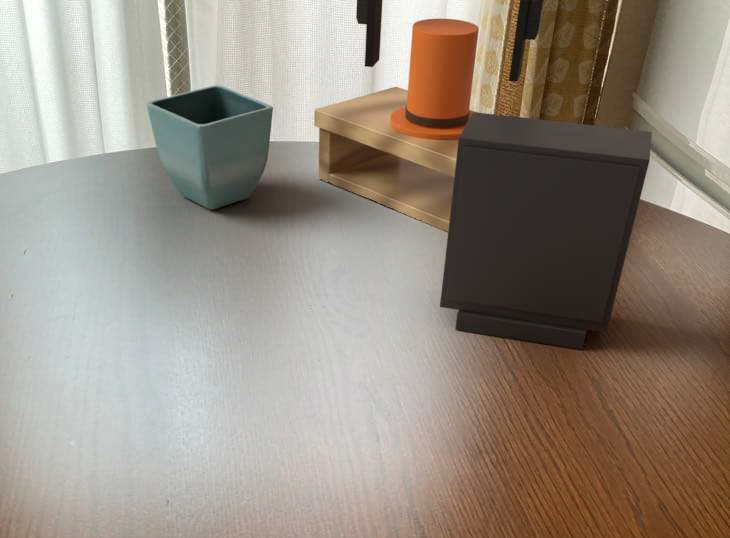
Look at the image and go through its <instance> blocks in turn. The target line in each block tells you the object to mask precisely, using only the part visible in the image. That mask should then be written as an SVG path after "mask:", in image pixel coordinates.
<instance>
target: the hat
mask: <svg viewBox="0 0 730 538" xmlns="http://www.w3.org/2000/svg"><path fill="white" fill-rule="evenodd" d="M479 31H480V30H479V26H478V25H476V24H474V23H473V22H470V21H466V20H461V19H454V18H427V19H426V18H425V19H421V20H417V21H415V22H414V23H413V24H412V30H411V45H410V55H409V56H410V57H409V58H410V59H409V69H408V71H409V72H408V84H407V90H408V96H407V106H406V107H403V108H400V109H398V110H396V111H394V112H393V113H392V114H391V117H390V124H391V126H392V127H393V128H394V129H396V130H397V131H399V132H401V133H404V134H407V135H410V136H414V137H419V138H425V139H436V140H451V139H459V137H460V135H461V133H462V131H463V130H464V128H465V126H466V124H467V122H468V121H469V119H470V117H471V115H472V113H473V112H472V111H473V110H472V111H470V110H471V109H470V107H471V99H472V91H473V80H474V74H475V73H474V72H475V63H476V56H477V48H478V39H479Z"/></svg>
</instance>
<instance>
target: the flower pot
mask: <svg viewBox="0 0 730 538" xmlns="http://www.w3.org/2000/svg"><path fill="white" fill-rule="evenodd" d="M146 108H147V112H148V116H149V121H150V126H151V130H152V135H153V138H154V142H155V143H154V144H155V147H156V150H157V154H158V156H159V159H160V162H161V165H162V167H163V169H164V171H165V173H166V175H167V177H168V178H169V180H170V181H171V183H172V184H173V185H174V187H175V188H176V190H177V191H178V193H180V195H181V196H183V197H184V198H186V199H188V200H190V201H191V202H194V203H196V204H198V205H199V206H202V207H204V208H205V209H207V210H210V211H211V210H212V211H213V210H216V209H219V208H222V207H226V206H228V205H231V204H234V203H237V202H240V201H243V200H247V199H248V198H250V197H251V196H252V194H253V193H254V191H255V189H256V188H257V186H258V184H259V182H260V181H261V179H262V176H263V174H264V172H265V169H266V167H267V166H266V165H267V163H268V157H269V150H270V140H271V133H272V123H273V111H274V107H273V106H272V105H271V104H268V103H266V102H263V101H261V100H258V99H255V98H252V97H249V96H247V95H244V94H242V93H240V92H237V91H235V90H233V89H230V88H228V87H225V86H223V85H219V84H216V85H215V84H214V85H209V86H206V87H201V88H198V89H194V90H190V91H186V92H182V93H178V94H175V95H170V96H166V97H161V98H158V99H154V100H151V101H148V102H146Z"/></svg>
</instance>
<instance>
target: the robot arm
mask: <svg viewBox="0 0 730 538" xmlns="http://www.w3.org/2000/svg"><path fill="white" fill-rule="evenodd" d="M544 5H545V0H519V5H518V12H517V20H516V27H515V34H514V42H513V48H512V55H511V63H510V69H509V77H508V82H515V83H517V82H519V81H518V80H519V79H520V76H521V74H522V68H523V61H524V54H525V48H526V42H527V40H530V41H535V40H537V39H536V38H537V37H538V35H539V32H540V31H541V24H542V18H543V11H544ZM355 13H356V14H355V15H356V16H355V19H356V21H357V24H358V25H365V27H366V29H365V30H366V31H365V50H364V51H365V53H364V67H368V68H373V67H374V66H375V65H377V63H378V62H379V61H380V56H381V53H380V52H381V37H382V36H381V35H382V16H383V0H356V11H355Z"/></svg>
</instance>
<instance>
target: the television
mask: <svg viewBox="0 0 730 538" xmlns="http://www.w3.org/2000/svg"><path fill="white" fill-rule="evenodd" d="M477 112H478V111H475V112H473V113H472V115H471V117H470V119H469V121H468V122H467V124H466V126H465V128H464V130H463V131H462V133H461V135H460V137H459V141H458V150H457V158H456V167H455V176H454V185H453V194H452V203H451V212H450V221H449V230H448V232H447V240H446V241H447V242H446V246H445V247H446V249H445V258H444V267H443V273H442V284H441V293H440V302H439V307H440V308H444V309H451V310H457V313H456V321H455V331H459V332H460V331H461V332H468V333H474V334H481V335H486V336H493V337H497V338H506V339H512V340H517V341H524V342H531V343H536V344H542V345H543V344H544V345H549V346H556V347H563V348H568V349H574V350H579V351H580V350H581V351H582V350H583V349H584V344H585V339H586V335H587V331H594V332H599V333H607V332H608V328H609V325H610V322H611V317H612V313H613V309H614V305H615V302H616V301H615V300H616V297H617V293H618V289H619V285H620V281H621V276H622V274H623V273H622V272H623V269H624V265H625V261H626V256H627V253H628V248H629V245H630V240H631V236H632V233H633V229H634V224H635V221H636V216H637V213H638V209H639V204H640V200H641V197H642V193H643V188H644V184H645V180H646V176H647V172H648V169H649V165H650V160H651V159H650V158H651V147H652V137H653V136H652V135H653V132H652V131H647V130H640V129H639V130H637V129H629V128H621V127H611V126H602V125H595V124H593V125H592V124H584V123H574V122H566V121H558V120H549V119H548V120H547V119H539V118H529V117H520V116H512V115H502V114H495V113H494V114H493V113H485V112H484V113H483V112H478V113H477Z"/></svg>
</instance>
